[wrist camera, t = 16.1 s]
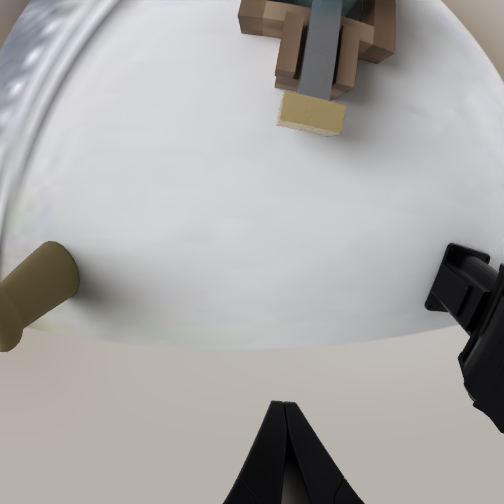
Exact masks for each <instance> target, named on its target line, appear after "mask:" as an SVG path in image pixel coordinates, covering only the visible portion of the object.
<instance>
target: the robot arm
mask: <svg viewBox="0 0 504 504" xmlns="http://www.w3.org/2000/svg"><path fill="white" fill-rule="evenodd" d="M452 248H453V249H452ZM451 249H452V250H451ZM489 261H490V256H489V255H488V254H486V253H483V252H480V251H477V250H474V249H471V248H467V247H464V246H461V245H457V244H454V243H450V244H449V245H448V246H447V249H446V252H445V255H444V257H443V260H442V263H441V266H440V268H439V271H438V274H437V276H436V279H435V281H434V284H433V286H432V288H431V291H430V293H429V295H428V298H427V300H426V302H425V308H426V309H427V310H430V311H441V312H449V313H450V314H451V315H452V316H453V317H454V319H455V320H456V321H457V322H458V323H459V324H460V325H461V327H462V328H463V329H464V330H465V331H466V332H467V334H468V335H469V336H470V338H469V340H468V342H467V344H466V346H465V348H464V349H463V351H462V352H461V353H460V355H459V356H458V361H459V364H460V367H461V371H462V374H463V377H464V387H465V389H466V390H467V392H468V394H469V396H470V398H471V399H472V400H473V401H474V403H473V406H474V407H475V408H477V409H479V410H480V411H482V412H484V413H485V414H486V415H487V416H488V417H489V418H490V419H491V420H492V421H493V423H494V424H495V425H496V427H497V428H498V429H499V431H500V432H501V433H504V264H503V263H501V265H500V267H499V272H497V271H496V270H495V269H493V268H492V267H490V266H489V265H488V264H489ZM223 504H365V503H364V502H363V501H362V500H361V499H360V498H359V497H358V495H357V494H356V493H355V491H354V490H353V489H352V487H351V486H350V485H349V483H348V482H347V480H346V479H345V478H344V476H343V475H342V473H341V471H340V470H339V468H338V467H337V466H336V464H335V463H334V461H333V460H332V458H331V457H330V455H329V454H328V452H327V450H326V449H325V448H324V446H323V445H322V443H321V441H320V440H319V438H318V437H317V435H316V433H315V432H314V430H313V429H312V427H311V426H310V424H309V423H308V421H307V419H306V418H305V416H304V415H303V413H302V412H301V410H300V408H299V407H298V405H297V404H296V403H295V402H282V401H271V403H270V405H269V408H268V410H267V413H266V415H265V418H264V420H263V422H262V425H261V427H260V429H259V431H258V434H257V436H256V438H255V441H254V443H253V445H252V447H251V450H250V452H249V454H248V456H247V458H246V460H245V463H244V465H243V467H242V469H241V471H240V473H239V475H238V477H237V479H236V481H235V483H234V485H233V487H232V489H231V491H230V493H229V494H228V496H227V498H226V499H225V501H224V503H223Z"/></svg>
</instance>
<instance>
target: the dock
mask: <svg viewBox="0 0 504 504" xmlns="http://www.w3.org/2000/svg"><path fill="white" fill-rule="evenodd" d="M309 9H310V8H307V7H303V6H297V5H292V4H286V3H280V2H273V1H271V0H241V4H240V8H239V12H238V19H239V24H240V28H241V33H244V34H253V35H262V36H269V37H275V38H281V43H280V48H279V54H278V59H277V65H276V70H275V76H276V82H275V88H281V89H286V90H291V91H296V88H297V83H298V77H299V71H300V65H301V59H302V53H303V47H304V40H305V34H306V28H307V22H308V15H309ZM394 47H395V0H363V6H362V22H359V21H356V20H353V19H349V18H346V17H343V16H341V19H340V28H339V37H338V45H337V52H336V60H335V67H334V74H333V81H332V87H331V94H330V100H333V99H335V98H336V97H338V96H339V95H341V94H342V93H344V92H348V91H349V90H351V89H353V88H354V82H355V75H356V67H357V58H361V59H364V60H367V61H370V62H373V63H375V64H378V63H379V62H381V61H383V60H384V59H386V58H387V57H389V56H390V55H392V54H393V53H394Z"/></svg>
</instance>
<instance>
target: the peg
mask: <svg viewBox="0 0 504 504" xmlns="http://www.w3.org/2000/svg"><path fill="white" fill-rule="evenodd" d="M287 1H288V2H289V4H292V5H297V6H303V7H307V8H310V4H311V1H312V0H287ZM356 1H357V0H342V9H341V16H343V17H345V16H346V15H347V14H348V13H349V12H350V10H351V9H352V7H353V6H354V4H355V3H356Z"/></svg>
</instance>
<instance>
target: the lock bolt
mask: <svg viewBox="0 0 504 504" xmlns="http://www.w3.org/2000/svg"><path fill="white" fill-rule="evenodd" d="M341 9H342V0H312V1H311V4H310V9H309V15H308V22H307V28H306V34H305V40H304V47H303V53H302V59H301V65H300V71H299V77H298V83H297V88H296V93H293V92H288V91H284V94H283V97H282V100H281V103H280V109H279V115H278V120H277V126H282V127H287V128H292V129H297V130H302V131H306V132H311V133H315V134H319V135H323V136H332V135H338V134H341V132H342V126H343V120H344V114H345V108H346V105H343V104H339V103H335V102H332V101H329V100H330V94H331V87H332V81H333V74H334V67H335V60H336V52H337V45H338V37H339V28H340V19H341Z"/></svg>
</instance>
